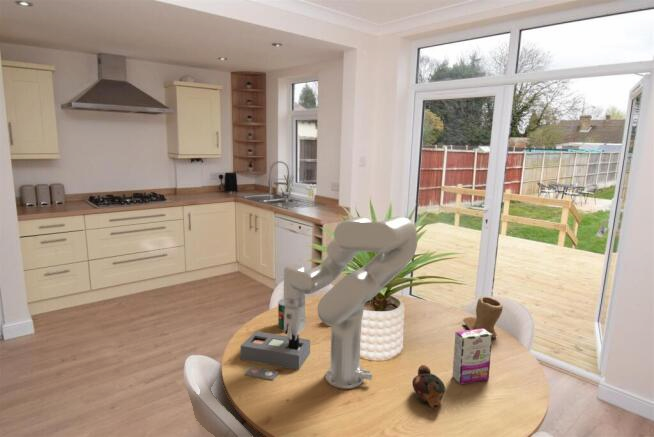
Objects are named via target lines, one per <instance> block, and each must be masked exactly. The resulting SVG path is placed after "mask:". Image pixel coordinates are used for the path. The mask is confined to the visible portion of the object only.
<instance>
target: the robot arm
mask: <svg viewBox="0 0 654 437" xmlns="http://www.w3.org/2000/svg"><path fill="white" fill-rule="evenodd" d="M417 248H418V232H417V229H416V227H415V225H414V223H413V222H412V221H411V220H410V219H409V218H406V217H404V216H395V217H394V216H393V217H390V218H387V219H384V220H381V221H371V220H370V219H368V218H367V217H364V216H356V217H352V218H349V219H345V220H342V221H340V222H339V223H338V224H337V226H336V227H335V228H334V231H333V239H332V240H331V241H330V242H329V243H328V245H327V247H326V253H327V256H326V258H325V259H324V260H323V261H322V262H321V263H320V264H319V265H317V266H315V267H312V268H310V269H307V270H306V268H305V266H303V265H301V264H296V263H295V264H288V265H286V266H285V267H284V270H283V299H284V306H285V314H284V330H283V332H284V335H286V336H287V339H288V340H289V349H294V350H298V349H299V338H300V334H301V332H302V331H303V330H304V328H305V327H306V325H307V324H306V295H311V294H312V295H313V294H315V293H316V292H318V291H320V290H322V289H324V288H326V287H327V286H329V285H330V284H332V283H333V282H334V281H335V280H337V278H338V277H339V276H340V275H341V274H342V273H343V272H344V270H345V269H346V267H347V266H348V263H350V262H351V261H352V260H353V259H354V257H356V256H357V255H358V254H359V252H363V253H364V252H366V253H376V254H375V255H374V256H373V257H372V259H370V261H368V262H367V263H366V264H365V265H363V266H362V267H359V268H358V269H356V270H354V271H352V272H350V273H348V274H346V275H345V276H344V277H342V278H341V279H340V280H339V281H337V283H336V284H335V285H334V286H332V288H330V289H329V291H327V292H326V293H325V294H324V295H323V296H322V297H321V298H320V300H319V301H318V304H317V316H318V318H319V320H320V321H321V322H322V323H324V324H325V325H327V326H329V327H331V332H330V335H331V336H330V363H329V364H330V365H329V366H330V368H328V369H327V370H326V372H325V380H326V382H327V383H328V384H329V385H331V386H333V387H334V388H338V389H343V390H347V389H349V390H350V389H355V388H357V387H359V386H360V385H362V384H363V382H364V381H365V380H368V381H372V380H373V373H371V370H370V369H364V368H362V365H363V364H362V363H361V362H360V361H361V360H360V359H361V337H362V336H361V335H362V334H361V333H362V321H363V315H364V310H365V304H366V303H367V302H369V301H370V300H372V299H373V298H375V297H376V296H377V295H378V294H379V293H380V292H381V291H382V290H383V289H384V288H385V287H386V286H387V285H388V284H389V283H390V282H391V281H393V280H394V279H395V278H396V277H397V276H398V275H399V274H400V273H401V272H402V271H403V270H404V269H405V268H406V267H407V266H408V264H409V263H410V262H411V261H412V260H413V257H414V256H415V254H416V250H417Z"/></svg>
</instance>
